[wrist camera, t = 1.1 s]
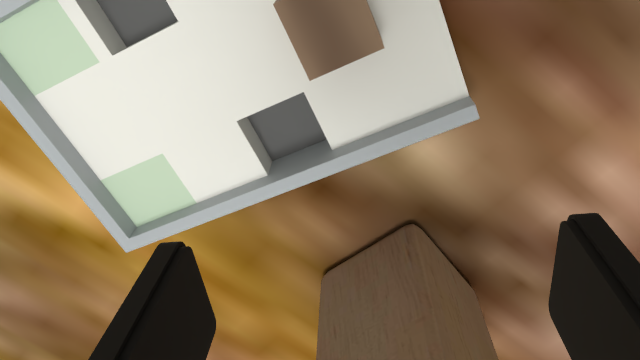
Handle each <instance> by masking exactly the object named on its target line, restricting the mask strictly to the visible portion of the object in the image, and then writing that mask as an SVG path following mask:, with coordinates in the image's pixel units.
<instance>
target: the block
mask: <svg viewBox="0 0 640 360" xmlns="http://www.w3.org/2000/svg"><path fill="white" fill-rule="evenodd" d="M316 360H498V357H497V354H496V351H495V349H494V346H493V343H492V340H491V337H490V334H489V331H488V329H487V326H486V323H485V320H484V317H483V314H482V311H481V309H480V306H479V303H478V300H477V297H476V294H475V292H474V290H473V289H472V288H471V287H470V285H469V284H468V283H467V282H466V281H465V280H464V278H463V277H462V276H461V275H460V274H459V273H458V271H457V270H456V269H455V268H454V267H453V265H452V264H451V263H450V262H449V261H448V260H447V258H446V257H445V256H444V255H443V254H442V253H441V251H440V250H439V249H438V248H437V247H436V246H435V244H434V243H433V242H432V241H431V240H430V238H429V237H428V236H427V235H426V234H425V233H424V231H423V230H422V229H420V228H419V227H418V226H416V225H414V224H410V225H405V226H404V227H402V228H400V229H399V230H397V231H395V232H394V233H392V234H390V235H389V236H387V237H385V238H384V239H382V240H380V241H379V242H377V243H375V244H374V245H372V246H370V247H369V248H367V249H365V250H364V251H362V252H360V253H358V254H357V255H355V256H353V257H352V258H350V259H348V260H347V261H345V262H343V263H342V264H340V265H338V266H337V267H335V268H333V269H332V270H330V271H328V272H327V273H326V275H325V276H324V277H323V279H322V281H321V294H320V310H319V325H318V341H317V356H316Z"/></svg>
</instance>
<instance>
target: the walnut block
mask: <svg viewBox="0 0 640 360" xmlns="http://www.w3.org/2000/svg"><path fill="white" fill-rule="evenodd" d="M273 6H274V8H275V10H276V12H277V14H278V16H279V18H280V20H281V22H282V24H283V26H284V28H285V31H286V33H287V35H288V37H289V39H290V41H291V43H292V45H293V47H294V49H295V51H296V53H297V56H298V58H299V60H300V62H301V64H302V66H303V68H304V70H305V72H306V74H307V76H308V79H309V81H311V80H313V79H316V78H318V77H320V76H322V75H325V74H327V73H329V72H331V71H334V70H336V69H338V68H341V67H343V66H345V65H347V64H350V63H352V62H354V61H357V60H359V59H361V58H363V57H366V56H368V55H370V54H372V53H375V52H377V51H379V50H382V49H384V45H383V41H382V38H381V35H380V33H379V30H378V27H377V25H376V22H375V20H374V17H373V14H372V12H371V9H370V7H369V4H368V2H367V0H276V1H275V2H274V4H273Z"/></svg>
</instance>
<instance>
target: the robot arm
mask: <svg viewBox="0 0 640 360" xmlns="http://www.w3.org/2000/svg"><path fill="white" fill-rule="evenodd" d="M549 312H550V316H551V318H552V320H553V322H554V325H555V327H556V329H557V331H558V333H559V335H560V337H561V339H562V341H563V343H564V345H565V347H566V349H567V351H568V353H569V355H570V357H571V359H572V360H640V263H639V262H638V261H637V260H636V258H635V257H634V256H633V255H632V253H631V252H630V251H629V250H628V249H627V247H626V246H625V245H624V244H623V243H622V241H621V240H620V239H619V238H618V236H617V235H616V234H615V233H614V232H613V230H612V229H611V228H610V227H609V226H608V224H607V223H606V222H605V221H604V219H603V218H602V217H601V216H600V215H599V214H597V213H587V214H573V215H570V216H569V217H568V220H567V221H563V222H561V224H560V229H559V236H558V242H557V249H556V256H555V263H554V270H553V276H552V283H551V290H550V297H549ZM215 330H216V319H215V316H214V313H213V310H212V307H211V304H210V301H209V298H208V295H207V292H206V289H205V286H204V283H203V280H202V277H201V274H200V272H199V269H198V266H197V263H196V260H195V257H194V254H193V251H192V249H191V248H190V247H189V246H188V247H186V246H185V244H184V243H183V242H167V243H160V244H159V245H158V246H157V248H156V249H155V251H154V253H153V254H152V256H151V258H150V259H149V261H148V263H147V264H146V266H145V268H144V269H143V271H142V272H141V274H140V276H139V277H138V279H137V281H136V282H135V284H134V286H133V287H132V289H131V291H130V292H129V294H128V295H127V297H126V299H125V300H124V302H123V304H122V305H121V307H120V309H119V310H118V312H117V313H116V315H115V317H114V318H113V320H112V322H111V323H110V325H109V327H108V328H107V330H106V332H105V333H104V335H103V336H102V338H101V340H100V341H99V343H98V345H97V346H96V348H95V350H94V351H93V353H92V354H91V356H90V358H89V359H88V360H206V357H207V355H208V352H209V349H210V346H211V343H212V340H213V337H214V334H215Z"/></svg>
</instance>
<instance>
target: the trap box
mask: <svg viewBox="0 0 640 360" xmlns="http://www.w3.org/2000/svg"><path fill="white" fill-rule="evenodd" d="M275 1H276V0H0V100H1V101H2V102H3V104H4V105H5V106H6V107H7V108H8V110H9V111H10V112H11V113H12V114H13V116H14V117H15V118H16V119H17V121H18V122H19V123H20V124H21V125H22V127H23V128H24V129H25V130H26V131H27V133H28V134H29V135H30V136H31V138H32V139H33V140H34V141H35V142H36V144H37V145H38V146H39V147H40V149H41V150H42V151H43V152H44V153H45V155H46V156H47V157H48V158H49V159H50V161H51V162H52V163H53V164H54V166H55V167H56V168H57V169H58V170H59V172H60V173H61V174H62V175H63V176H64V178H65V179H66V180H67V181H68V183H69V184H70V185H71V186H72V187H73V189H74V190H75V191H76V192H77V194H78V195H79V196H80V197H81V198H82V200H83V201H84V202H85V203H86V204H87V206H88V207H89V208H90V209H91V211H92V212H93V213H94V214H95V215H96V217H97V218H98V219H99V220H100V221H101V223H102V224H103V225H104V226H105V228H106V229H107V230H108V231H109V232H110V234H111V235H112V236H113V237H114V238H115V240H116V241H117V242H118V243H119V245H120V246H121V247H122V248H123V249H124V251H125V252H126V253H127V252H129V251H132V250H135V249H137V248H140V247H142V246H145V245H148V244H150V243H153V242H156V241H158V240H161V239H164V238H166V237H169V236H171V235H174V234H177V233H179V232H182V231H185V230H187V229H190V228H193V227H195V226H198V225H200V224H203V223H206V222H208V221H211V220H214V219H216V218H219V217H222V216H224V215H227V214H229V213H232V212H235V211H237V210H240V209H243V208H245V207H248V206H251V205H253V204H256V203H258V202H261V201H264V200H266V199H269V198H272V197H274V196H277V195H280V194H282V193H285V192H287V191H290V190H293V189H295V188H298V187H301V186H303V185H306V184H309V183H311V182H314V181H316V180H319V179H322V178H324V177H327V176H330V175H332V174H335V173H337V172H340V171H343V170H345V169H348V168H351V167H353V166H356V165H359V164H361V163H364V162H366V161H369V160H372V159H374V158H377V157H380V156H382V155H385V154H388V153H390V152H393V151H395V150H398V149H401V148H403V147H406V146H409V145H411V144H414V143H417V142H419V141H422V140H424V139H427V138H430V137H432V136H435V135H438V134H440V133H443V132H446V131H448V130H451V129H453V128H456V127H459V126H461V125H464V124H467V123H469V122H472V121H475V120H477V119H480V118H479V115H478V112H477V109H476V105H475V103H474V102H473V101H472V99H471V98H470V96H469V94H468V90H467V87H466V84H465V81H464V78H463V75H462V71H461V68H460V65H459V62H458V59H457V56H456V52H455V49H454V46H453V43H452V40H451V37H450V33H449V30H448V27H447V24H446V21H445V18H444V14H443V11H442V8H441V5H440V2H439V0H367V2H368V4H369V7H370V9H371V12H372V14H373V17H374V20H375V22H376V25H377V27H378V30H379V33H380V35H381V38H382V41H383V45H384V49H382V50H379V51H377V52H375V53H372V54H370V55H368V56H366V57H363V58H361V59H359V60H357V61H354V62H352V63H350V64H347V65H345V66H343V67H341V68H338V69H336V70H334V71H331V72H329V73H327V74H325V75H322V76H320V77H318V78H316V79H313V80H311V81H309V79H308V76H307V74H306V72H305V70H304V68H303V66H302V64H301V62H300V60H299V58H298V56H297V53H296V51H295V49H294V47H293V45H292V43H291V41H290V39H289V37H288V35H287V33H286V31H285V28H284V26H283V24H282V22H281V20H280V18H279V16H278V14H277V12H276V10H275V8H274V6H273V4H274V2H275Z"/></svg>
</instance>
